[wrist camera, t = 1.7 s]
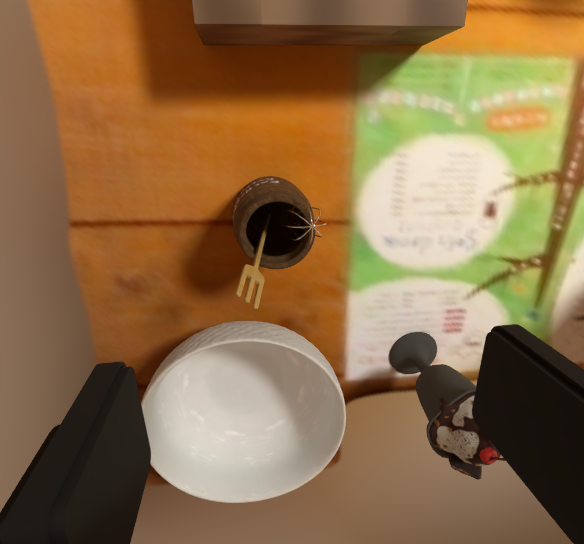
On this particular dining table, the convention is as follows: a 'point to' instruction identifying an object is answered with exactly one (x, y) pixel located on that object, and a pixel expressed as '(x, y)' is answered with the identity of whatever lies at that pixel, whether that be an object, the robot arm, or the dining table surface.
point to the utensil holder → (271, 229)
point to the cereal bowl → (243, 413)
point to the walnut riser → (326, 21)
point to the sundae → (445, 405)
